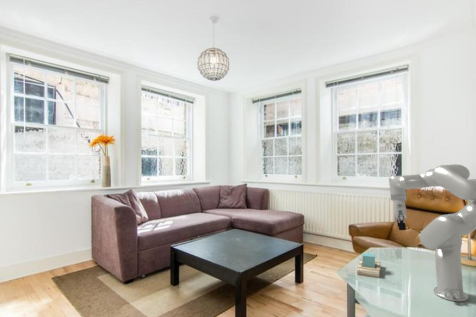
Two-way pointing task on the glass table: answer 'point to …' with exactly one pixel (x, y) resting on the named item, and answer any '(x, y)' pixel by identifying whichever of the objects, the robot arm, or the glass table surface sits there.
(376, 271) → the birch base
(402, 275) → the glass table surface
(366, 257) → the teal block
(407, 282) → the glass table surface
